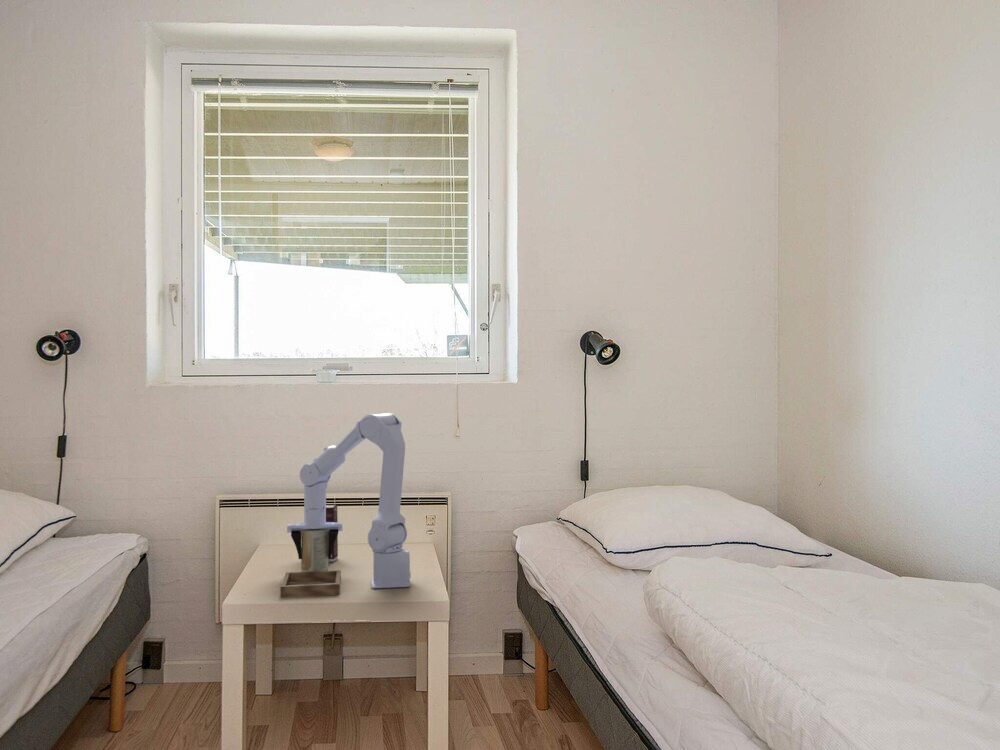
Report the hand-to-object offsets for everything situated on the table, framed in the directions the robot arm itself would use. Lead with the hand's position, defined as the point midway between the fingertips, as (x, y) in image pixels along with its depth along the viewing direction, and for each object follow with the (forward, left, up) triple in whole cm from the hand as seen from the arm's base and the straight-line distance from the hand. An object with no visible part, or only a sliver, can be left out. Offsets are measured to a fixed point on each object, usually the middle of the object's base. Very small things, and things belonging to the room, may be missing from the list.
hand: (315, 557), depth 208 cm
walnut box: (0, +14, -4) cm, 15 cm away
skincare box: (0, 0, -4) cm, 5 cm away
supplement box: (-1, -16, -5) cm, 17 cm away
